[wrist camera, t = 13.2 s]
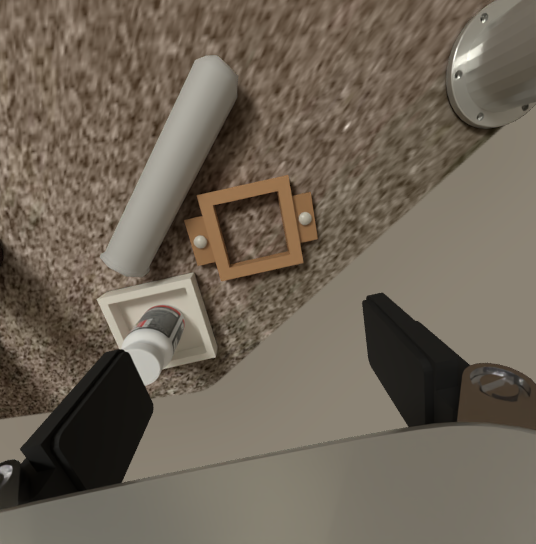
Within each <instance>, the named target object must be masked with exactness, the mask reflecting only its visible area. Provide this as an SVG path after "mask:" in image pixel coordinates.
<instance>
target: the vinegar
mask: <svg viewBox="0 0 536 544" xmlns="http://www.w3.org/2000/svg"><path fill="white" fill-rule="evenodd" d="M2 261H3V251H2V248H1V246H0V266H1V263H2Z"/></svg>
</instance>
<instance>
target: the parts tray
mask: <svg viewBox="0 0 536 544" xmlns="http://www.w3.org/2000/svg"><path fill="white" fill-rule="evenodd" d="M97 301H98V303H99V305H100V307H101V309H102V312H103V314H104V316H105V318H106V320H107V323H108V325H109V327H110V329H111V331H112V334H113V336H114V338H115V340H116V342H117V345H118V347H119V349H121V347H122V343H123V341H124V340H125V338H126V337H127V335H128V334H129V333H130V331H131V330H132V329H133V328H134V326H135V325H136V324H137V322H138V321H139V320H140V319H141V317H142V316H143V315H144V313H145V312H146V311H147V310H148V309H150V308H151V307H153V306H156V305H161V304H163V305H170V306H172V307H174V308H176V309H177V310H179V311H180V313H181V314H182V315H183V317H184V321H185V328H184V331H183V333H182V336H181V338H180V340H179V343H178V345H177V347H176V350H175V352H174V355H173V357H172V359H171V361H170V362H169V364H168V365H167V366H166V367H165V368H163V369H166V368H170V367H175V366H179V365H183V364H188V363H192V362H197V361H201V360H205V359H210V358H214V357H216V354H217V348H218V346H217V343H216V340H215V337H214V334H213V330H212V327H211V324H210V321H209V318H208V315H207V311H206V308H205V305H204V302H203V299H202V296H201V292H200V289H199V286H198V283H197V280H196V277H195V273H194V272H193V273H189V274H184V275H180V276H175V277H171V278H167V279H162V280H158V281H153V282H149V283H144V284H140V285H135V286H131V287H126V288H122V289H117V290H113V291H108V292H106V293H105V294H103V295H102V296H101V297H99V298H98V299H97Z"/></svg>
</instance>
